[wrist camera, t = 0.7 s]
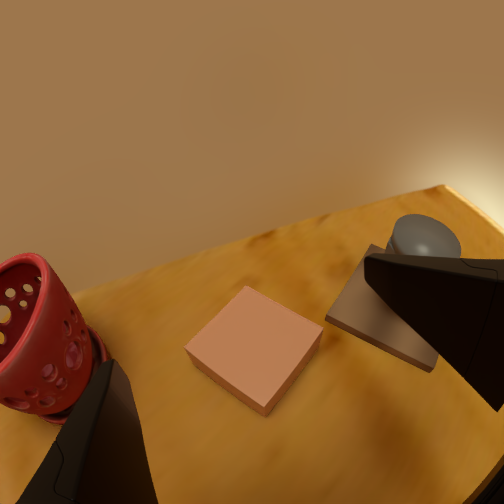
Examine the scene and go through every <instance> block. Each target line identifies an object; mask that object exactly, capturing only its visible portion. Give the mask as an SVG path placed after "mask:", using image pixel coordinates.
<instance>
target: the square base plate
mask: <svg viewBox="0 0 504 504" xmlns="http://www.w3.org/2000/svg"><path fill="white" fill-rule="evenodd" d="M372 253H385V249H382V248H380V247H378V246H375V245H373V244H371V245H370V246H369V248H368V250H367V252H366V253H365V255H364V257H363V258H362V260H361V262H360V263H359V265H358V266H357V268H356V270H355V271H354V273H353V275H352V276H351V278H350V279H349V281H348V282H347V284H346V286H345V287H344V289H343V290H342V292H341V293H340V295H339V296H338V298H337V299H336V301H335V302H334V304H333V305H332V307H331V308H330V310H329V311H328V313H327V314H326V318H325V320H326V321H328V322H330V323H332V324H334V325H336V326H338V327H340V328H341V329H343V330H345V331H347V332H349V333H351V334H353V335H355V336H357V337H359V338H361V339H363V340H365V341H367V342H369V343H371V344H372V345H374V346H376V347H378V348H380V349H382V350H384V351H386V352H388V353H390V354H392V355H394V356H396V357H398V358H400V359H402V360H404V361H406V362H408V363H410V364H412V365H414V366H416V367H418V368H421V369H423V370H425V371H427V372H429V373H430V372H431V371H432V370H433V369H434V367H435V364H436V361H437V358H438V355H439V353H438V352H437V351H435V350H434V349H433V348H432V347H431V346H430V345H429V344H428V343H427V342H426V341H425V340H424V339H423V338H422V337H421V336H420V335H419V334H417V333H416V332H415V331H414V330H413V329H412V328H411V327H410V326H409V325H408V324H407V323H405V322H404V321H403V320H402V319H401V318H400V317H399V316H398V315H397V314H396V313H394V312H393V311H392V310H391V309H390V308H389V307H388V306H387V305H386V303H385V302H384V301H383V300H382V299H381V298H380V297H379V296H378V295H377V294H376V293H375V291H374V290H373V289H372V288H371V287H370V286H369V285H368V284H367V283H366V281H365V279H364V258H365V257H366V256H368V255H370V254H372Z"/></svg>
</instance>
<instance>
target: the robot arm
mask: <svg viewBox="0 0 504 504" xmlns="http://www.w3.org/2000/svg"><path fill="white" fill-rule="evenodd" d="M364 279H365V281H366V283H367V284H368V285H369V286H370V287H371V288H372V289H373V290H374V291H375V293H376V294H377V295H378V296H379V297H380V298H381V299H382V300H383V301H384V302H385V303H386V305H387V306H388V307H389V308H390V309H391V310H392V311H393V312H394V313H396V314H397V315H398V316H399V317H400V318H401V319H402V320H403V321H404V322H405V323H407V324H408V325H409V326H410V327H411V328H412V329H413V330H414V331H415V332H416V333H417V334H419V335H420V336H421V337H422V338H423V339H424V340H425V341H426V342H427V343H428V344H429V345H430V346H431V347H432V348H433V349H434V350H435V351H437V352H438V353H439V354H440V355H441V356H442V357H443V358H444V359H445V360H446V361H447V362H448V363H449V364H450V365H451V366H452V367H453V368H454V369H455V370H456V371H457V372H458V373H459V374H460V375H461V376H462V377H464V379H465V380H466V381H467V382H468V383H469V384H470V385H471V386H472V387H473V388H474V389H475V390H476V391H477V392H478V393H479V394H480V396H481V397H482V398H483V399H484V400H485V401H486V402H487V403H488V404H489V405H490V406H491V407H492V408H493V409H494V410H495V411H496V412H498V411H499V410H500V408H501V407H502V405H503V404H504V259H467V258H459V259H458V258H450V257H434V256H418V255H401V254H384V253H372V254H370V255H368V256H366V257H365V258H364ZM15 504H158V500H157V497H156V493H155V489H154V486H153V482H152V478H151V473H150V469H149V465H148V460H147V456H146V451H145V446H144V440H143V435H142V429H141V424H140V420H139V416H138V413H137V409H136V405H135V401H134V398H133V394H132V389H131V385H130V382H129V379H128V377H127V375H126V374H125V373H124V371H123V370H122V368H121V367H120V365H119V364H118V362H117V361H116V360H115V359H110V360H107V361H104V362H103V363H102V364H101V365H100V367H99V368H98V370H97V371H96V373H95V375H94V376H93V378H92V379H91V381H90V382H89V384H88V386H87V387H86V389H85V390H84V392H83V394H82V395H81V397H80V398H79V400H78V402H77V403H76V405H75V407H74V408H73V410H72V411H71V413H70V415H69V416H68V418H67V420H66V422H65V423H64V425H63V427H62V428H61V430H60V432H59V434H58V435H57V437H56V441H54V442H53V444H52V446H51V448H50V450H49V451H48V453H47V455H46V456H45V458H44V460H43V462H42V463H41V465H40V466H39V468H38V470H37V471H36V473H35V474H34V476H33V477H32V479H31V481H30V482H29V484H28V485H27V487H26V488H25V490H24V492H23V493H22V495H21V496H20V498H19V500H18V501H17V502H16V503H15ZM462 504H504V455H503V456H502V457H501V459H500V460H499V461H498V463H497V464H496V465H495V467H494V468H493V469H492V470H491V472H490V473H489V474H488V475H487V477H486V478H485V479H484V480H483V481H482V483H481V484H480V485H479V486H478V487H477V488H476V490H475V491H474V492H473V493H472V494H471V495H470V496H469V497H468V498H467V499H466V500H465V501H464V502H463V503H462Z"/></svg>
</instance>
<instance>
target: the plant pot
mask: <svg viewBox="0 0 504 504" xmlns="http://www.w3.org/2000/svg"><path fill="white" fill-rule="evenodd" d="M37 277H41V278H42V279H41V281H40V280H39V279H38V278H37ZM24 284H29V285H31V286H32V288H33V291H32V292H27V291H25V290H24V289H23V285H24ZM9 288H12V289H14V290H15V292H16V294H15V296H14V297H11V298H9V297H7V296H6V295H5V292H6V290H7V289H9ZM22 300H24V301H26V302H27V306H25V307H22V306H21V305H20V304H19V303H20V301H22ZM0 305H5V306H7V307H8V308H9V309H10V311H11V316H10V319H9V320H8V321H7V322H6V323H0V332H2V333H3V334H4V337H5V340H4V343H3V344H0V403H1V404H3V405H5V406H7V407H9V408H11V409H15V410H18V411H21V412H24V413H29V414H37V415H38V416H39V417H41V418H42V419H44V420H46V421H48V422H50V423H54V424H64V423H65V422H66V420H67V418H68V416H69V415H70V413H71V411H72V410H73V408H74V407H75V405H76V403H77V402H78V400H79V398H80V397H81V395H82V394H83V392H84V390H85V389H86V387H87V386H88V384H89V382H90V381H91V379H92V378H93V376H94V375H95V373H96V371H97V370H98V368H99V367H100V365H101V364H102V363H103V362H104V361H107V360H108V358H107V353H106V349H105V346H104V344H103V342H102V340H101V338H100V337H99V335H98V334H97V333H96V332H95V331H94V330H93V329H92V328H91V327H89V326H87V325H86V324H85V322H84V319H83V317H82V315H81V313H80V311H79V309H78V307H77V305H76V304H75V302H74V300H73V298H72V297H71V295H70V294H69V292H68V291H67V289H66V288H65V286H64V285H63V283H62V282H61V280H60V279H59V277H58V276H57V274H56V273H55V272H54V270H53V269H52V268H51V266H50V265H49V264H48V262H47V261H46V260H45V259H44V258H43V257H41V256H40V255H38V254H35V253H23V254H19V255H16V256H14V257H12V258H10V259H8V260H6V261H5V262H3V263H2V264H0Z"/></svg>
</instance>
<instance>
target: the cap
mask: <svg viewBox="0 0 504 504" xmlns="http://www.w3.org/2000/svg"><path fill="white" fill-rule="evenodd" d="M384 254H401V255H418V256H434V257H450V258H458V259H459V258H460V256H461V246H460V243H459V241H458V239H457V237H456V236H455V234H454V233H453V232H452V231H451V230H450V229H449V228H448V227H447V226H445V225H444V224H442V223H441V222H439V221H437V220H435V219H433V218H431V217H428V216H424V215H419V214H410V215H405V216H403V217H401V218H399V219H398V220H397V222H396V223H395V226H394V229H393V233H392V235H391V237H390V239H389V241H388V243H387V247H386V250H385V253H384Z"/></svg>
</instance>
